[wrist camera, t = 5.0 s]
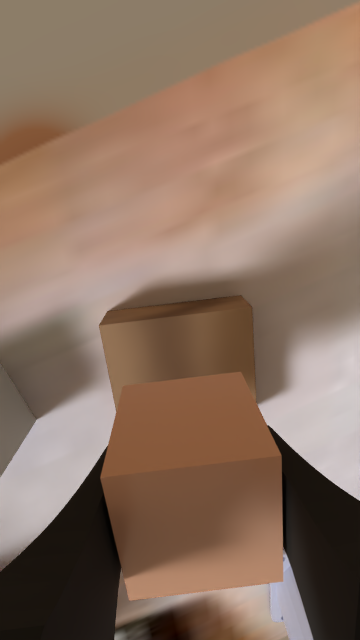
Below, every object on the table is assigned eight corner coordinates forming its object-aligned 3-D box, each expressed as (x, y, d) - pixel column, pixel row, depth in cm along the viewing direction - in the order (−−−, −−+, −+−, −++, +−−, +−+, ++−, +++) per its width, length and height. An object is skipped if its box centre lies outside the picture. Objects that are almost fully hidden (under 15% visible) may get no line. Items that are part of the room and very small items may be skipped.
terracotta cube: (241, 371, 14) (281, 455, 9) (246, 466, 15) (283, 581, 10) (122, 385, 14) (100, 477, 9) (140, 479, 15) (129, 601, 10)
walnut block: (239, 293, 20) (252, 306, 17) (245, 406, 22) (257, 435, 19) (108, 309, 20) (99, 325, 17) (129, 421, 22) (124, 452, 19)
